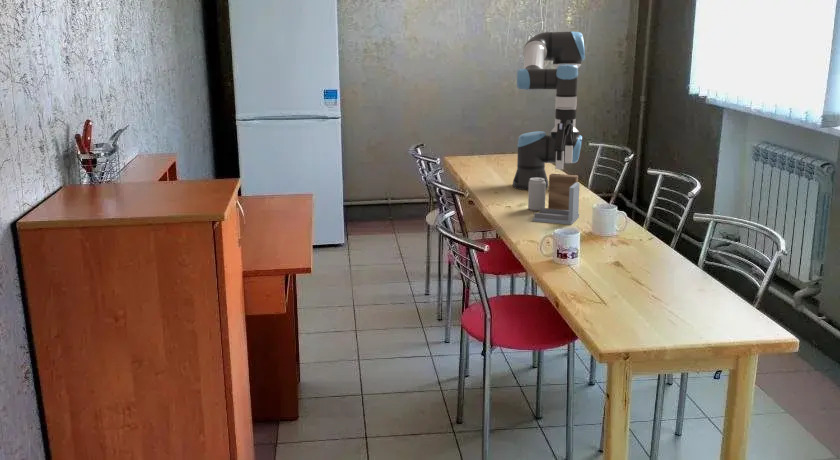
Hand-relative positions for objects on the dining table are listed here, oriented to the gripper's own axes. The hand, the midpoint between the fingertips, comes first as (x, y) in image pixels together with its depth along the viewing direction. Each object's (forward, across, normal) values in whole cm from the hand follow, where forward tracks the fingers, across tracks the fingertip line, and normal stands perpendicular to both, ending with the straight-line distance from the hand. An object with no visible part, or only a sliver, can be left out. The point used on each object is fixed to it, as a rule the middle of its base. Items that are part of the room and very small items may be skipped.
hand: (563, 166), depth 292 cm
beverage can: (+18, -1, -10) cm, 20 cm away
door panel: (+18, 0, 0) cm, 18 cm away
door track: (+18, +10, 0) cm, 21 cm away
